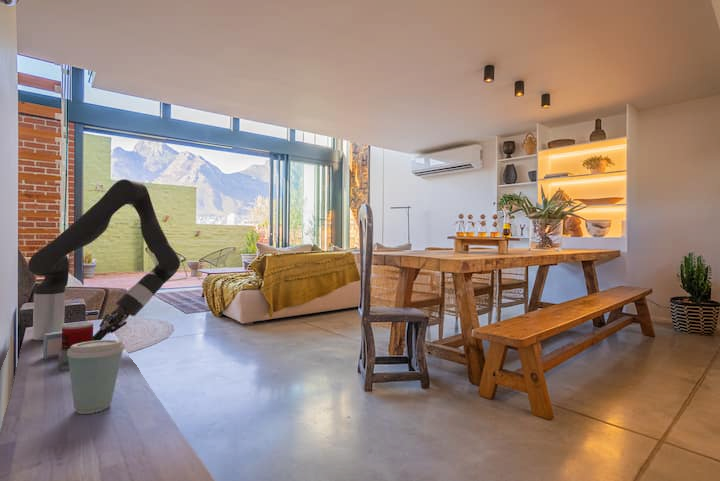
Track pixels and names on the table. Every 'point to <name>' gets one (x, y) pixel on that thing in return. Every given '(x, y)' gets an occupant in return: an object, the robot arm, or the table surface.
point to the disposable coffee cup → (94, 373)
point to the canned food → (76, 333)
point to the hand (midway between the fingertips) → (94, 341)
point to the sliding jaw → (52, 344)
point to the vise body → (63, 360)
